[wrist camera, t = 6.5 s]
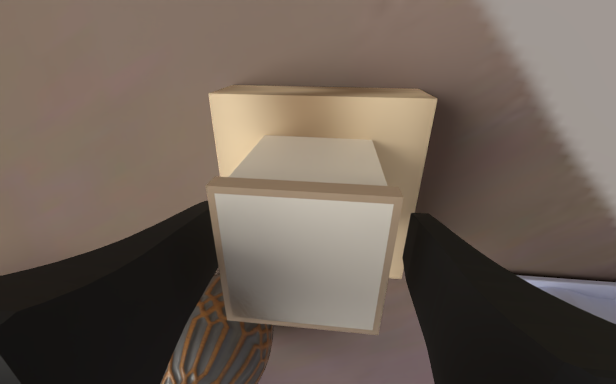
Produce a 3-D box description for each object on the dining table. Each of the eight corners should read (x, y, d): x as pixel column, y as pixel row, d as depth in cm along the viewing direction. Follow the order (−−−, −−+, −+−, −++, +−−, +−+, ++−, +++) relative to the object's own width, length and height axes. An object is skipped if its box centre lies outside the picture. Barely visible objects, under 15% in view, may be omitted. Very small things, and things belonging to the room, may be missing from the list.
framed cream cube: (377, 135, 12) (403, 197, 7) (364, 234, 14) (378, 335, 9) (259, 130, 12) (205, 185, 7) (265, 227, 14) (227, 320, 10)
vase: (186, 249, 20) (83, 383, 12) (286, 267, 19) (249, 415, 12) (191, 318, 23) (112, 460, 15) (277, 334, 23) (243, 486, 15)
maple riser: (418, 88, 14) (437, 98, 11) (392, 244, 18) (401, 278, 15) (232, 84, 14) (208, 93, 12) (248, 234, 18) (232, 266, 16)
